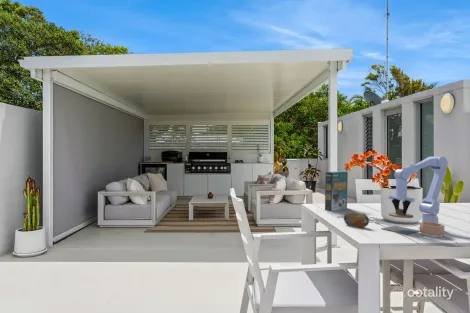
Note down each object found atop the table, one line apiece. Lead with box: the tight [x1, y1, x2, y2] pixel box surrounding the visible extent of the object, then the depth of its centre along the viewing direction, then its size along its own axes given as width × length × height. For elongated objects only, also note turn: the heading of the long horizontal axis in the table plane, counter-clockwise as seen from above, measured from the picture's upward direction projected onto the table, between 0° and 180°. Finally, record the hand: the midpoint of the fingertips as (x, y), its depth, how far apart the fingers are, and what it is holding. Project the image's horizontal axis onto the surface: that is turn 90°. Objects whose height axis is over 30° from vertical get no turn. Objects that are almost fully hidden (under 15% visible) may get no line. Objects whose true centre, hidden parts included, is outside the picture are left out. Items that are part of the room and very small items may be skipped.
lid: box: [388, 208, 414, 219], centre depth 191 cm, size 13×13×4 cm
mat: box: [381, 225, 421, 236], centre depth 191 cm, size 15×15×1 cm
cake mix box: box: [324, 170, 349, 212], centre depth 262 cm, size 22×6×30 cm, turn 130°
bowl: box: [419, 221, 445, 238], centre depth 181 cm, size 11×11×6 cm
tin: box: [343, 211, 370, 229], centre depth 200 cm, size 15×3×8 cm, turn 45°
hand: (400, 212), depth 191 cm, fingers closed on lid, 4 cm apart
